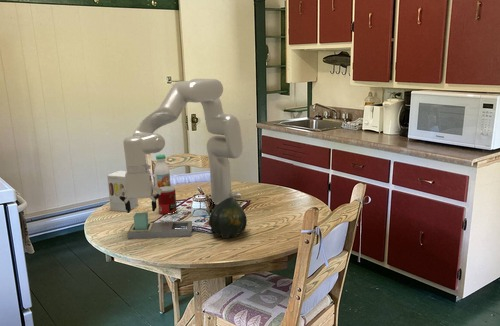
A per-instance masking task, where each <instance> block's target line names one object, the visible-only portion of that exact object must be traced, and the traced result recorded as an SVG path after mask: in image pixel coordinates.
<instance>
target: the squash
mask: <svg viewBox="0 0 500 326" xmlns="http://www.w3.org/2000/svg"><path fill="white" fill-rule="evenodd" d="M208 219H209V220H208V225H209V227H210V230H211V231H212V233H214V234H216V235H221V236H222V238H224V239H229V238H230V237H232V238H235V237H237V236H238V235H239V234H242V233H243V232H244V231H245V229H246V227H247V225H248V224H247V221H248V220H247V215H246V213H245V210H244V209H243V208H242V206H241V204H239V203H238V202H237V200H236V199H233V197H231V198H227V199H225V200H224V201H222V202H220V203H219V204H218V205H214V207H213V209H212V210H211V213H210V215H209V218H208Z"/></svg>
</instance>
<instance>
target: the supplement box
mask: <svg viewBox="0 0 500 326" xmlns="http://www.w3.org/2000/svg"><path fill="white" fill-rule="evenodd" d="M126 172H127V170H126V171H125V170H117V171H115V172H113V173H109V174H107V186H108V196H109V206H110V211H112V212H113V211H115V212H124V213H127V210H126V208H125V203H124V202H123V201H122V200H121V199H120V198H119V197H118V195H117V194H116V193H117V192H118V191H119V190H121V189H123V188H124V187H125V174H126ZM122 195H123V196H124V197H126V194H125V192H123V193H122ZM129 201H130V206H131V211H132V210H134V209H135V208H137V207H138V206H139V198H130V199H129Z"/></svg>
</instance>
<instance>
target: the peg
mask: <svg viewBox="0 0 500 326" xmlns="http://www.w3.org/2000/svg"><path fill="white" fill-rule="evenodd" d="M133 223H134V226H135V230H148V228H149V223H150V222H149V214H148V212H135V214H134V216H133Z"/></svg>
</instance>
